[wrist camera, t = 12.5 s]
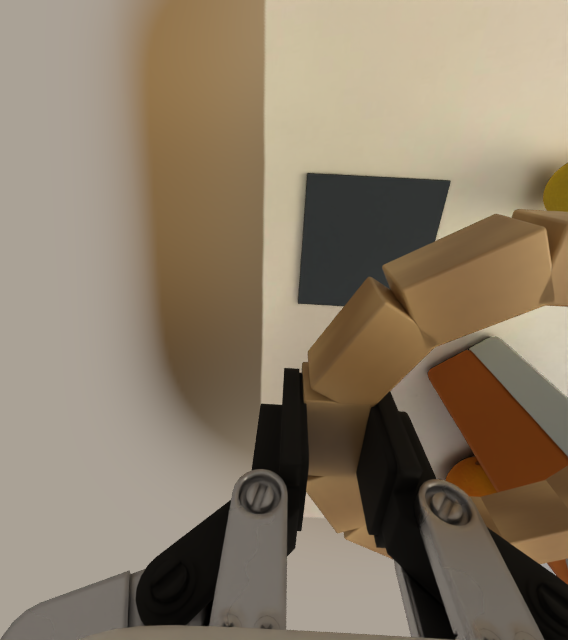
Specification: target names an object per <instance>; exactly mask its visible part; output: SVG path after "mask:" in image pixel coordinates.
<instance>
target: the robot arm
mask: <svg viewBox="0 0 568 640" xmlns="http://www.w3.org/2000/svg"><path fill="white" fill-rule="evenodd" d="M308 471H309V444H308V424H307V404H306V403H304V400H303V374H302V373H299V369H292V368H284V384H283V401H282V405H275V404H261V406H260V413H259V421H258V429H257V435H256V443H255V450H254V457H253V465H252V471H250V472H247V473H246V474H244V475H243V476H241V477H240V478H239V480H238V481H237V483H236V484H235V486H234V489H233V493H232V498H231V500H230V501H229V502H227V503H226V504H225V505H224V506H222V507H221V508H220V509H218V510H217V511H216V512H215V513H213V514H212V515H211V516H209V517H208V518H207V519H205V520H204V521H203V522H201V523H200V524H199V525H197V526H196V527H195V528H194V529H192V530H191V531H190V532H188V533H187V534H186V535H185V536H183V537H182V538H180V539H179V540H178V541H177V542H175V543H174V544H173V545H171V546H170V547H169V548H167V549H166V550H165V551H164V552H162V553H161V554H160V555H159V556H157V557H156V558H155V559H154V560H153V561H152V562H151V563H150V564H149V565H148V566H147V568H146V569H144V570H141V571H138V572H136V573H133V574H130V571H127V572H124V573H122V574H118V575H116V576H113V577H110V578H107V579H105V580H102V581H99V582H96V583H94V584H91V585H88V586H85V587H83V588H80V589H77V590H74V591H72V592H69V593H66V594H63V595H60V596H58V597H55V598H52V599H49V600H47V601H44V602H41V603H39V604H37V605H35V606H33V607H32V608H30V609H28V610H26V611H25V612H24V613H23V614H22V615H20V616H19V617H18V618H17V619H16V620H15V621H14V622H13V623H12V624H11V626H10V627H9V628H8V630H7V631H6V632H5V634H4V635H3V636H2V638H1V640H568V585H567V584H566V583H565V582H564V581H563V580H561V579H560V578H558V577H557V576H555V575H554V574H553V573H551V572H550V571H548V570H547V569H546V568H544V567H542V566H541V565H540V564H539V563H537V562H536V561H534V560H533V559H532V558H530V557H529V556H527V555H526V554H524V553H523V552H522V551H520V550H519V549H517V548H516V547H515V546H513V545H512V544H510V543H509V542H508V541H506V540H505V539H503V538H502V537H501V536H499V535H498V534H496V533H495V532H493V531H492V530H491V529H489V528H488V527H486V525H485V523H484V521H483V519H482V517H481V515H480V513H479V511H478V509H477V507H476V505H475V504H474V502H473V501H472V499H471V498H470V497H469V496H468V495H467V494H466V493H465V492H464V491H463V490H462V489H460V488H459V487H457V486H456V485H454V484H452V483H450V482H448V481H445V480H440V479H436V477H435V474H434V472H433V470H432V468H431V465H430V463H429V461H428V458H427V456H426V454H425V452H424V449H423V447H422V445H421V443H420V440H419V438H418V436H417V434H416V431H415V429H414V427H413V425H412V422H411V420H410V418H409V416H408V414H407V413H406V412H400V411H398V409H397V407H396V404H395V402H394V399H393V397H392V395H391V392H390V391H389V392H388V393H387V394H386V395H385V396H384V397H383V398H382V399H381V400H380V401H379V402H378V403H377V404H376V405H375V406H374V407H371V409H370V413H369V417H368V422H367V426H366V431H365V436H364V440H363V445H362V449H361V454H360V458H359V463H358V467H357V472H356V476H357V481H358V486H359V491H360V496H361V501H362V506H363V512H364V517H365V522H366V527H367V532H368V534H369V535H374V539H375V543H376V548H386V551H387V554H388V555H389V556H390V557H391V558H392V559H394V563H395V570H396V575H397V579H398V583H399V587H400V591H401V596H402V600H403V604H404V608H405V613H406V617H407V621H408V625H409V630H410V634H411V637H401V636H384V635H367V634H351V633H333V632H315V631H296V630H286V588H287V585H286V584H287V583H286V582H287V556H288V555H289V554H290V553H291V552H292V551H293V550H294V549H295V545H296V536H297V531H301V529H302V521H303V513H304V505H305V496H306V488H307V480H308Z"/></svg>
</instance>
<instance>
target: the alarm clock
mask: <svg viewBox="0 0 568 640" xmlns="http://www.w3.org/2000/svg"><path fill="white" fill-rule="evenodd" d="M428 378H429V380H430V382H431V383H432V385H433V387H434V388H435V390H436V392H437V393H438V395H439V397H440V398H441V400H442V402H443V403H444V405H445V407H446V408H447V410H448V412H449V413H450V415H451V417H452V418H453V420H454V421H455V423H456V425H457V426H458V428H459V429H460V431H461V433H462V435H463V436H464V438H465V440H466V441H467V443H468V445H469V446H470V448H471V450H472V451H473V453H474V455H475V456H476V458H477V460H478V461H479V463H480V465H481V466H482V468H483V470H484V471H485V473H486V475H487V476H488V478H489V480H490V481H491V483H492V485H493V486H494V488H495V490H496V491H497V493H498V492H501V491H505V490H509V489H513V488H517V487H521V486H524V485H528V484H532V483H536V482H540V481H544V480H546V479H547V478H549V477H550V476H552V475H554V474H555V473H557V472H558V471H560V470H562V469H563V468H565V467H566V466H568V398H567V397H566V396H565V395H564V394H563V393H562V392H561V391H559V390H558V389H557V388H556V387H555V386H554V385H553V384H552V383H550V382H549V381H548V380H547V379H546V378H545V377H544V376H543V375H541V374H540V373H539V372H538V371H537V370H536V369H535V368H533V367H532V366H531V365H530V364H529V363H528V362H527V361H526V360H525V359H523V358H522V357H521V356H520V355H519V354H518V353H517V352H515V351H514V350H513V349H512V348H511V347H510V346H509V345H507V344H506V343H505V342H504V341H503V340H501V339H499V338H498V337H489V338H487V339H486V340H484V341H482V342H480V343H478V344H476V345H474V346H473V347H471V348H469V351H468V350H465V351H463V352H461V353H459V354H458V355H456V356H454V357H452V358H450V359H448V360H446V361H444V362H443V363H441V364H439V365H437V366H435V367H433V368H431V369H430V370H429V372H428ZM547 564H548V565H549V566H550V567H551V569H552V570H553V572H554V573H555V574H556V576H557V577H558V578H560V579H561V580H563V581H564V582H565V583H566V584H567V585H568V559H563V560H558V561H553V562H548V563H547Z"/></svg>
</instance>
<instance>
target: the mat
mask: <svg viewBox="0 0 568 640" xmlns="http://www.w3.org/2000/svg"><path fill="white" fill-rule="evenodd" d="M450 182H451V181H448V180H429V179H410V178H391V177H372V176H353V175H334V174H315V173H308V174H307V187H306V200H305V214H304V228H303V241H302V255H301V269H300V282H299V296H298V304H315V305H333V306H345V305H346V304H347V302H348V301H349V300H350V299H351V297H352V296H353V295H354V294H355V292H356V291H357V290H358V289H359V287H360V286H361V285H362V284H363V282H364V281H365V280H366V279H367V278H368V277H372V278H374V279H375V280H377V281H378V282H380V283H381V284H383V285H384V286H386V287H387V288H389V289H390V287H389V284H388V282H387V279H386V277H385V274H384V272H383V269H382V266H383V265H384V264H387V263H389V262H391V261H393V260H395V259H398V258H400V257H402V256H404V255H406V254H409V253H411V252H413V251H415V250H417V249H419V248H422V247H424V246H426V245H428V244H430V243H433V242H435V239H436V235H437V231H438V228H439V224H440V220H441V216H442V212H443V209H444V205H445V201H446V197H447V193H448V190H449V186H450ZM390 290H391V289H390Z"/></svg>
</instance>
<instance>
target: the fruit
mask: <svg viewBox="0 0 568 640" xmlns="http://www.w3.org/2000/svg"><path fill="white" fill-rule="evenodd" d="M446 481H448V482H450V483H452V484H454V485H456V486H457V487H459V488H460V489H462V490H463V491H464V492H465V493H466V494H467V495H468V496H473V497H482V496H486V495H490V494H494V493H497V491H496V490H495V488H494V486H493V485H492V483H491V481H490V480H489V478H488V476H487V475H486V473H485V471H484V470H483V468H482V466H481V465H480V463H479V461H478V460H477V458H476V457H469V458H466V459H464V460H462V461H460V462H459V463H457V464H456V465H455V466H454V467H453V468H452V469H451V470H450V472H449V473H448V475H447V477H446Z"/></svg>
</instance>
